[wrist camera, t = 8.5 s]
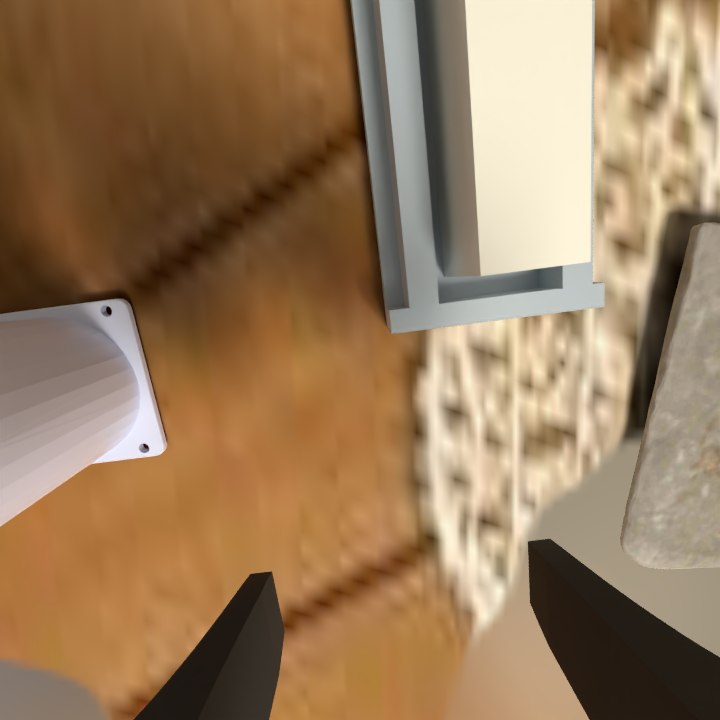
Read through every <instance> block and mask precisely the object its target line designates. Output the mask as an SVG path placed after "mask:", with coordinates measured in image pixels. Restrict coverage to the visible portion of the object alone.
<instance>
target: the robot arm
mask: <svg viewBox="0 0 720 720" xmlns="http://www.w3.org/2000/svg"><path fill="white" fill-rule="evenodd" d="M107 306H109V307H110V308H111V310H112V314H111V316H110V315H109V314H108V313H107V311H106V308H107ZM143 444H147V445H148V446H149V449H146V448H144V446H143ZM166 448H167V442H166V438H165V434H164V430H163V426H162V423H161V419H160V415H159V411H158V407H157V403H156V399H155V396H154V392H153V388H152V384H151V380H150V376H149V372H148V369H147V365H146V361H145V357H144V353H143V349H142V346H141V342H140V338H139V334H138V330H137V326H136V322H135V319H134V315H133V311H132V307H131V305H130V303H129V302H128V301H126V300H124V299H110V300H102V301H95V302H87V303H80V304H72V305H65V306H57V307H50V308H42V309H35V310H27V311H19V312H12V313H4V314H0V526H2V525H3V524H5V523H6V522H8V521H9V520H10V519H12V518H13V517H15V516H16V515H18V514H19V513H21V512H22V511H23V510H25V509H26V508H28V507H29V506H31V505H32V504H34V503H35V502H36V501H38V500H39V499H41V498H42V497H44V496H45V495H47V494H48V493H49V492H51V491H52V490H54V489H55V488H57V487H58V486H59V485H61V484H62V483H64V482H65V481H67V480H68V479H70V478H71V477H72V476H74V475H75V474H77V473H78V472H80V471H81V470H83V469H84V468H85V467H87V466H88V465H90V464H93V463H101V462H109V461H117V460H125V459H134V458H142V457H150V456H157V455H160V454H161V453H162V452H163V451H165V450H166ZM528 555H529V583H530V603H531V606H532V608H533V611H534V613H535V615H536V618H537V620H538V622H539V625H540V627H541V629H542V631H543V634H544V636H545V638H546V641H547V643H548V645H549V647H550V649H551V651H552V653H553V654H554V656H555V658H556V660H557V662H558V664H559V665H560V667H561V669H562V671H563V673H564V674H565V676H566V678H567V680H568V682H569V683H570V685H571V687H572V689H573V691H574V692H575V694H576V696H577V698H578V700H579V701H580V703H581V705H582V707H583V709H584V710H585V712H586V714H587V716H588V718H589V719H590V720H720V657H718V656H716V655H715V654H713V653H712V652H710V651H708V650H707V649H705V648H703V647H701V646H700V645H698V644H697V643H695V642H694V641H692V640H690V639H689V638H687V637H686V636H684V635H682V634H681V633H679V632H678V631H676V630H675V629H673V628H672V627H670V626H669V625H667V624H666V623H664V622H663V621H661V620H660V619H658V618H657V617H655V616H654V615H652V614H651V613H649V612H648V611H646V610H645V609H644V608H642V607H641V606H639V605H638V604H637V603H635V602H634V601H632V600H631V599H629V598H628V597H627V596H625V595H624V594H622V593H621V592H620V591H618V590H617V589H616V588H614V587H613V586H612V585H610V584H609V583H607V582H606V581H605V580H603V579H602V578H601V577H599V576H598V575H597V574H595V573H594V572H593V571H592V570H590V569H589V568H587V567H586V566H585V565H584V564H582V563H581V562H580V561H578V560H577V559H576V558H575V557H573V556H572V555H571V554H569V553H568V552H567V551H565V550H564V549H563V548H562V547H560V546H559V545H557V544H556V543H555V542H554V541H552V540H551V539H545V540H536V541H528ZM283 639H284V627H283V622H282V617H281V613H280V608H279V603H278V598H277V594H276V589H275V584H274V579H273V575H272V572H264V573H255V574H250V575H249V577H248V578H247V579H246V581H245V582H244V583H243V585H242V586H241V587H240V589H239V590H238V591H237V593H236V594H235V595H234V597H233V598H232V600H231V601H230V602H229V604H228V605H227V606H226V608H225V609H224V610H223V612H222V613H221V615H220V616H219V617H218V619H217V620H216V621H215V623H214V624H213V625H212V626H211V628H210V629H209V630H208V632H207V633H206V634H205V636H204V637H203V638H202V640H201V641H200V642H199V643H198V645H197V646H196V647H195V649H194V650H193V651H192V652H191V654H190V655H189V656H188V657H187V659H186V660H185V661H184V662H183V663H182V665H181V666H180V667H179V668H178V669H177V671H176V672H175V673H174V674H173V675H172V677H171V678H170V679H169V680H168V682H167V683H166V684H165V685H164V686H163V687H162V689H161V690H160V691H159V692H158V693H157V694H156V696H155V697H154V698H153V699H152V700H151V701H150V702H149V703H148V705H147V706H146V707H145V708H144V709H143V710H142V711H141V712H140V713H139V714H138V716H137V717H136V718H135V719H134V720H269V717H270V713H271V708H272V704H273V699H274V695H275V691H276V686H277V681H278V677H279V670H280V663H281V656H282V647H283Z"/></svg>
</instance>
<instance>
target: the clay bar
mask: <svg viewBox="0 0 720 720" xmlns="http://www.w3.org/2000/svg"><path fill="white" fill-rule="evenodd" d="M423 8H424V21H425V34H426V46H427V59H428V72H429V85H430V98H431V111H432V124H433V137H434V150H435V162H436V175H437V188H438V201H439V214H440V227H441V240H442V253H443V266H444V277H471V276H486V275H494V274H502V273H509V272H517V271H525V270H532V269H540V268H547V267H555V266H563V265H570V264H578V263H586V262H591V103H592V0H423Z"/></svg>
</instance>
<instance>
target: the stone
mask: <svg viewBox="0 0 720 720" xmlns="http://www.w3.org/2000/svg"><path fill="white" fill-rule="evenodd" d="M621 546H622V549H623V551H624V553H625V554H626V555H627V556H628V557H630V558H631V559H632V560H634V561H635V562H637V563H638V564H640V565H642V566H644V567H648V568H660V569H688V568H710V567H720V223H715V222H704V223H701V224H698V225H695V226H693V227H692V229H691V231H690V236H689V241H688V244H687V248H686V252H685V257H684V262H683V266H682V270H681V274H680V278H679V282H678V286H677V290H676V293H675V297H674V301H673V305H672V309H671V313H670V317H669V322H668V326H667V330H666V335H665V339H664V344H663V349H662V353H661V358H660V362H659V367H658V372H657V377H656V381H655V386H654V390H653V394H652V398H651V402H650V406H649V409H648V416H647V420H646V424H645V429H644V433H643V437H642V442H641V446H640V451H639V455H638V460H637V464H636V468H635V472H634V476H633V480H632V484H631V488H630V493H629V497H628V501H627V506H626V511H625V516H624V521H623V527H622V533H621Z"/></svg>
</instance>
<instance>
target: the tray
mask: <svg viewBox="0 0 720 720" xmlns="http://www.w3.org/2000/svg"><path fill="white" fill-rule="evenodd" d="M350 4H351V13H352V22H353V31H354V39H355V48H356V57H357V66H358V75H359V83H360V92H361V101H362V110H363V119H364V128H365V136H366V145H367V154H368V163H369V172H370V180H371V189H372V198H373V207H374V216H375V225H376V233H377V242H378V251H379V260H380V269H381V277H382V286H383V295H384V304H385V313H386V322H387V327H388V329H389V330H390V332H391V333H392V334H395V333H403V332H411V331H419V330H426V329H434V328H442V327H450V326H457V325H465V324H473V323H481V322H488V321H496V320H504V319H512V318H519V317H527V316H535V315H543V314H551V313H558V312H566V311H574V310H582V309H589V308H597V307H604V283H603V282H593V164H594V14H595V0H592V103H591V262H586V263H578V264H570V265H563V266H555V267H547V268H540V269H532V270H525V271H517V272H509V273H502V274H494V275H486V276H471V277H444V266H443V253H442V240H441V227H440V214H439V201H438V188H437V175H436V162H435V150H434V137H433V124H432V111H431V98H430V85H429V72H428V59H427V46H426V34H425V21H424V8H423V0H350Z"/></svg>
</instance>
